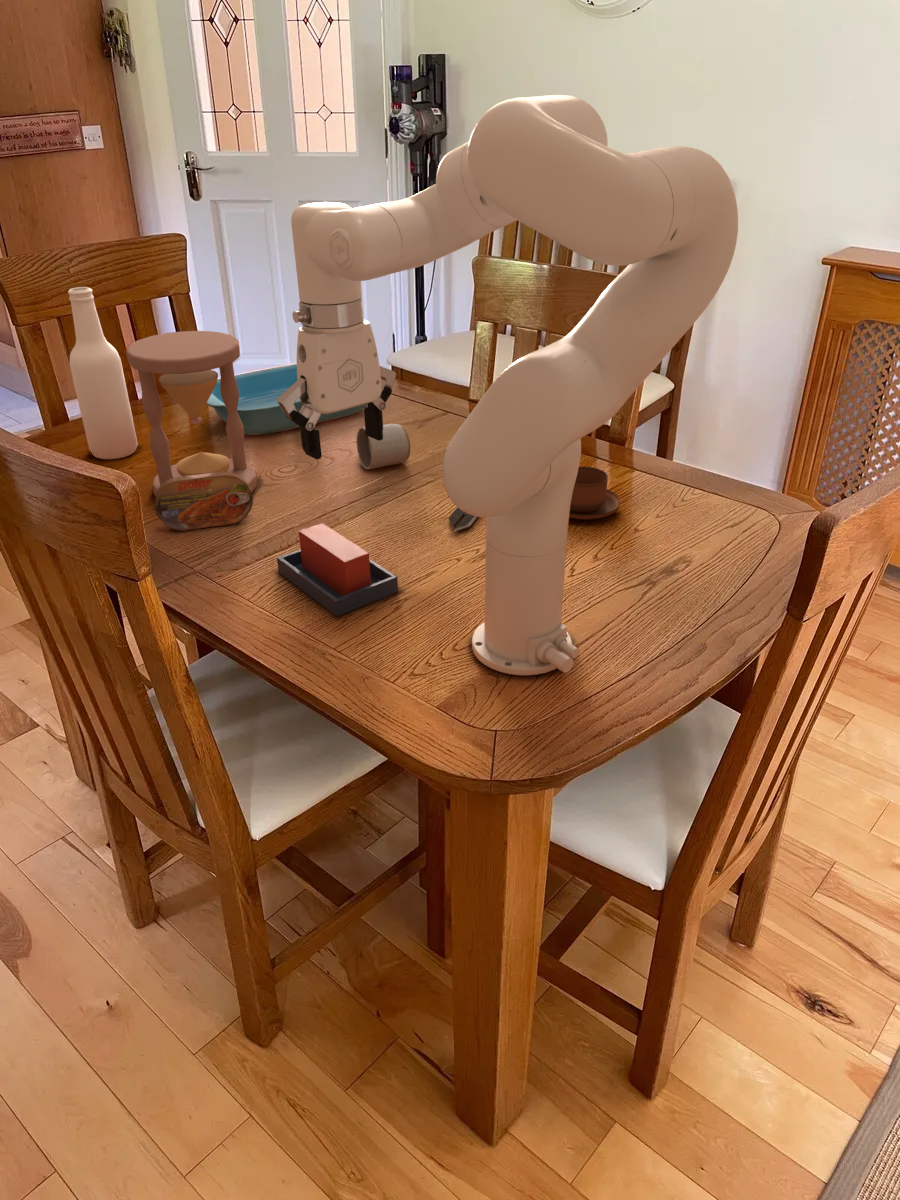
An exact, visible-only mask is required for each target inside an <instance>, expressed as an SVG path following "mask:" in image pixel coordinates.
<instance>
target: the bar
mask: <svg viewBox="0 0 900 1200" xmlns="http://www.w3.org/2000/svg"><path fill="white" fill-rule="evenodd" d="M298 539H299V547H300V549H301V558H302V567H303V568H304V569H306V570H307V571H308V572H310V573H311V574H312V575H314V576H315V577H316V578H318V579H319V580H321V581H322V582H323V583H325V584H326V585H327V586H329V587H330V588H332V589H333V590H334V591H336V592H337V593H338V594H340V595H341V596H344V595H346V594H349V593H351V592H354V591H356V590H359V589H362V588H364V587H367V586H369V585H371V578H370V562H369V559H370V552H368V551H367V550H365V549H363V548H361V546H358V545H357V544H356V543H354V542H353V541H351V540H349V539H348V538H346V537H345V536H343V535H341V534H340V533H339V532H337V531H335V530H334V529H332V528H331V527H329V526H328V525H326V524H325V523H324V522H321V523H318V524H315V525H312V526H309V527H305V528H302V529H300V530H298ZM300 549H299V550H300Z"/></svg>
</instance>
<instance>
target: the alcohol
mask: <svg viewBox="0 0 900 1200" xmlns="http://www.w3.org/2000/svg"><path fill="white" fill-rule="evenodd" d="M67 294H68V295H69V297H68V299H69V301H70V306H71V312H72V313H71V314H72V319H73V326H74V333H75V344H74V346H73V347H72V350H71V351H70V354H69V368H70V373H71V377H72V382H73V386H74V390H75V394H76V398H77V403H78V407H79V411H80V415H81V420H82V426H83V429H84V433H85V437H86V442H87V445H88V450H89V452H90V451H91V452H92V453H91V452H90V453H91V455H92V456H94V457H95V458H96V459H101V460H115V459H116V460H117V459H122V458H125V457H128V456H131V455H132V454H134V453H136V450H137V448H138V446H139V444H138V439H137V434H136V429H135V423H134V418H133V413H132V409H131V403H130V398H129V394H128V387H127V383H126V379H125V374H124V369H123V364H122V359H121V356H120V354H119V352H118V351H117V349H116V348H115V346H113V345H112V344H111V343H110V342H109V341H107V339H106V337H105V335H104V332H103V331H104V330H103V329H102V324H101V322H100V318H99V315H98V311H97V308H96V303H95V301H94V299H95V296H94V295H93V289H92V288H91V287H88V286H77V287H72V288H69V290H68V291H67ZM93 453H94V454H93ZM96 454H97V455H96Z"/></svg>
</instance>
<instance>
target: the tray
mask: <svg viewBox="0 0 900 1200" xmlns="http://www.w3.org/2000/svg"><path fill="white" fill-rule="evenodd" d="M369 562H370V578H371V585H369V586H367V587H364V588H362V589H359V590H356V591H354V592H351V593H349V594H346V595H344V596H341V595H340V594H338V593H337V592H336V591H334V590H333V589H332V588H330V587H329V586H327V585H326V584H325V583H323V582H322V581H321V580H319V579H318V578H316V577H315V576H314V575H312V574H311V573H310V572H308V571H307V570H306V569H304V568H303V567H302V558H301V549H297V550H295V551H292V552H289V553H286V554H283V555H281V556H277V557H276V563H277V571H278V573H279V574H281V575H282V576H283V577H284V578H286V579H287V580H288V581H290V582H291V583H292V584H294V585H295V586H296V587H298V588H299V589H300V590H302V592H304V593H306V594H307V595H308V596H310V597H311V598H312V599H313V600H315V601H316V603H318V604H320V605H321V606H322V607H324V608H325V609H327V610H328V611H329V612H330V613H332V614H333V615H334V616H336V617H339V616H341V615H344V614H347V613H349V612H351V611H353V610H355V609H359V608H361V607H363V606H366V605H368V604H371V603H374V602H376V601H379V600H381V599H383V598H386V597H388V596H391V595H393V594H396V593H398V592H399V581H398V580H399V577H398V576H397V575H396V574H394V573H392V572H390V571H389V570H387V569H386V568H385V567H383V566H382V565H380V564H378V563H377V562H376V561H374V560H372V559H371V558H369Z"/></svg>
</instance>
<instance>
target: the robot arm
mask: <svg viewBox="0 0 900 1200" xmlns="http://www.w3.org/2000/svg"><path fill="white" fill-rule="evenodd" d="M608 140H609V139H608V133H607V128H606V126H605V123H604V121H603V119H602V118H601V115H600V114H599V112H598V111H597V110H596V109H595V107H593V106H592V105H591V104H589V103H588V102H586V101H585V100H584V99H581V98H580V97H577V96H573V95H568V94H567V95H566V94H550V95H536V96H523V97H522V96H521V97H514V98H508V99H504V100H503V101H500V102H498V103H496V104H495V105H493V106H492V107H491V108H489V109H488V110H487V111H485V112H484V114H482V115H481V117H480V118H479V119H478V121H477V122H476V124H475V125H474V128H473V130H472V132H471V134H470V137H469V141H467V142H465V143H463V144H462V145H460V146H459V145H458V146H457V147H455V148H453V149H452V150H450V151H449V152H447V153H446V154H445V155H444V156H443V157H442V159H441V161H440V162H439V165H438V168H437V170H436V175H435V176H436V177H435V178H436V179H435V184H433V185H431V186H429V187H427V188H426V189H424V190H422V191H419V192H418V193H415V194H414V195H411V196H409V197H406V198H403V199H399V200H391V201H385V202H379V203H373V204H369V205H364V206H358V207H353V208H352V207H351V206H350V205H349V204H346V203H342V202H335V201H323V202H321V201H320V202H311V203H305V204H301V205H298V206H297V207H296V208H295V209H293V211H292V214H291V217H290V218H291V219H290V222H291V233H292V241H293V251H294V252H293V253H294V260H295V271H296V279H297V289H298V297H299V302H298V307H299V309H297V310H295V311H293V312H292V315H291V316H292V320H293V322H294V323H295V324H298V323H300V325H302V327H299V328H298V331H297V343H296V365H297V380H298V381H296V382H295V383H294V384H293V385H292V386H291V387H290V388H289V389H288V390H286V391H285V392H284V393H283V394H282V395H281V396H280V397H279V398H278V400H277V402H278V404H279V405H280V407H281V408H282V410H283V411H284V412H285V414H286V417H288V418H289V419H290V420H292V421H293V422H294V423H295V424H296V425H298V426H300V427H299V432H300V439H301V448H302V451H303V452H304V454H305V455H306V456H308V457H310V458H313V459H314V460H321V458H322V456H323V455H322V446H321V444H322V443H321V436H320V430H319V428H317V427H316V425H317V424H318V423H317V421H318V419H319V417H320V415H321V414H322V413H323V414H329V413H334V412H338V411H341V410H345V409H349V408H352V407H356V406H360V405H363V404H367V405H366V406H365V407H364V408H363V417H364V418H363V421H364V426H365V433H366V435H367V436H369V437H371V438H373V439H376V440H378V441H380V440H383V425H384V419H383V418H384V417H383V411H384V410H385V409H386V407H387V402H388V400H389V398H390V397H391V395H392V392H393V389H392V388H393V387H394V384H395V380H396V377H397V373H396V371H394V370H392V369H390V368H387V367H384V366H381V365H380V361H379V353H378V349H377V344H376V340H375V336H374V333H373V330H372V326H371V322H370V321H369V320H366V319H364V305H363V291H362V282H366V281H370V280H374V279H378V278H383V277H385V276H388V275H392V274H395V273H399V272H403V271H408V270H412V269H416V268H419V267H422V266H425V265H427V264H430V263H432V262H435V261H437V260H439V259H441V258H443V257H445V256H448V255H450V254H452V253H454V252H456V251H459V250H461V249H463V248H465V247H467V246H469V245H471V244H472V243H474V242H476V241H479V240H481V239H483V237H485V236H487V235H489V234H491V233H493V232H495V231H497V230H500V229H502V228H503V227H506V226H507V225H510V224H512V223H514V222H516V221H518V222H520V223H521V224H523V225H525V226H527V227H529V228H530V229H532V230H534V231H536V232H537V233H539V234H541V235H543V236H545V237H547V238H548V239H550V240H552V241H553V242H556V243H557V244H560V245H561V246H562V247H563V246H564V248H567V249H569V250H571V251H572V252H574V253H576V254H578V255H580V256H581V257H583V258H585V259H587V260H589V261H593V262H595V263H598V264H602V265H607V266H613V267H614V266H615V267H616V266H626V267H625V268H624V269H623V270H622V271H621V272H620V273H619V274H618V275H617V276H616V277H615V278H614V279H613V280H612V281H611V282H610V283H609V284H608V285H607V287H605V289H604V290H603V291H602V292H601V294H600V295H599V297H598V298H597V299H596V300H595V303H594V304H593V306H592V307H590V308H589V310H588V311H587V313H586V314H585V315H584V316H583V317H582V318H581V320H580V321H579V322H578V323H577V325H576V326H575V327H573V329H572V330H571V331H570V332H569V333H568V334H566V335H565V336H563V337H562V338H560V339H559V340H556V341H555V342H552V343H550V344H548V345H545V346H543V347H541V348H539V349H536V350H534V351H531V352H530V353H529V352H528V354H526V355H524V356H522V357H520V358H519V359H516V360H515V361H513V362H512V363H511V364H509V366H507V367H506V368H505V369H504V370H503V371H502V372H501V373H500V374H499V375H498V376H497V377H496V378H495V380H494V381H493V382H492V383H491V385H490V386H489V387H488V389H487V390H486V392H485V393H484V394H483V396H482V397H481V398H480V399H479V401H478V402H477V404H476V405H475V406H474V408H473V409H472V411H471V412H470V413H469V415H468V416H467V417H466V419H465V420H464V421H463V423H462V424H461V425H460V426H459V428H458V429H457V431H456V432H455V434H454V435H453V436H452V438H451V440H450V441H449V444H448V445H447V447H446V450H445V453H444V455H443V459H442V465H441V467H442V468H441V474H442V475H441V477H442V482H443V486H444V489H445V492H446V494H447V496H448V497H449V499H450V501H451V502H452V503H453V504H454V505H455V506H456V508H457V507H458V508H459V509H461V510H462V511H464V512H466V513H465V514H467V513H468V514H470V515H473V516H477V518H486V525H485V530H486V531H485V557H484V559H485V562H484V563H485V564H484V565H485V566H484V567H485V568H484V622H482V623H481V624H480V625H478V626H477V628H475V630H474V631H473V633H472V636H471V650H472V652H473V655H474V656H475V657H476V659H477V660H478V661H479V662H481V663H482V664H483V665H484V666H486V667H488V668H490V669H492V670H494V671H497V672H499V673H503V674H507V675H514V676H536V675H542V674H547V673H549V672H551V671H555V670H556V669H558V670H560V671H561V672H562V673H565V674H566V673H569V672H570V671H571V670H572V669H573V667H574V664H575V661H574V659H576V658H578V656H579V655H580V653H581V650H580V648H579V647H577V646H575V645H574V644H573V641H572V637H571V635H570V633H569V632H568V626H567V625H566V624H565V623H562V614H563V600H564V587H565V586H564V585H565V584H564V583H565V572H566V571H565V569H566V559H567V558H566V556H567V542H568V535H569V534H568V533H569V532H568V531H569V522H570V521H569V520H570V518H569V512H570V505H571V499H572V494H573V489H574V485H575V481H576V477H577V473H578V469H579V467H580V463H581V457H582V456H581V455H582V438H584V437H586V436H588V435H589V434H591V433H592V432H594V431H595V430H597V429H599V428H600V427H602V426H603V425H605V424H606V423H608V422H609V421H610V420H611V419H613V418H614V417H615V416H616V415H617V413H618V412H619V411H620V410H621V408H622V407H623V406H624V405H625V403H626V402H627V401H628V400H629V398H630V397H631V396H632V395H633V394H634V392H635V391H636V390H637V389H638V388H639V387H640V386H641V385H642V384H643V383H644V381H645V380H646V379H647V378H648V377H649V376H650V375H651V374H652V373H653V371H654V370H655V369H656V368H657V367H658V366H659V364H661V362H662V361H663V360H664V358H665V357H666V356H667V355H668V353H670V351H671V350H672V349H673V348H674V347H675V345H677V343H678V342H680V340H681V339H682V337H683V336H684V335H685V334H686V333H687V332H688V331H689V329H690V328H692V327H693V325H694V324H695V323H696V321H697V320H698V319H699V318H700V317H701V315H702V314H703V313H704V312H705V310H706V309H707V308H708V306H709V305H710V303H711V302H712V300H713V299H714V298H715V296H716V294H717V293H718V291H719V290H720V288H721V286H722V284H723V283H724V280H725V278H726V276H727V274H728V272H729V269H730V267H731V264H732V262H733V257H734V255H735V250H736V247H737V241H738V234H739V212H738V204H737V199H736V198H737V197H736V194H735V191H734V186H733V184H732V182H731V179H730V176H729V175H728V174H727V172H726V170H725V169H724V167H723V166H722V164H720V162H719V161H718V160H717V159H716V158H714V157H713V156H712V155H711V154H708V153H707V152H705V151H704V150H701V149H698V148H694V147H689V146H681V145H675V146H663V147H657V148H650V149H645V150H640V151H633V152H627V153H623V152H621V151H618V150H616V149H613V148H611V147H608V146H609V145H608ZM299 397H300V401H301V404H302V407H301V409H300V411H299V412H298V411H297V410H296V407H295V405H294V403H295V401H296V400H297V399H298V398H299Z"/></svg>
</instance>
